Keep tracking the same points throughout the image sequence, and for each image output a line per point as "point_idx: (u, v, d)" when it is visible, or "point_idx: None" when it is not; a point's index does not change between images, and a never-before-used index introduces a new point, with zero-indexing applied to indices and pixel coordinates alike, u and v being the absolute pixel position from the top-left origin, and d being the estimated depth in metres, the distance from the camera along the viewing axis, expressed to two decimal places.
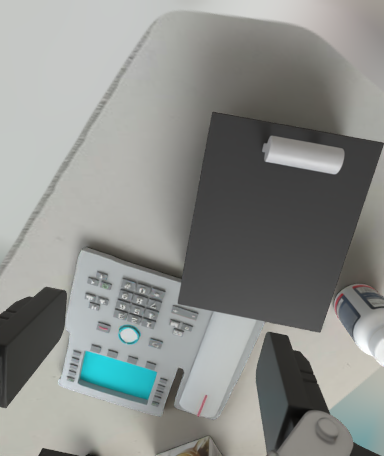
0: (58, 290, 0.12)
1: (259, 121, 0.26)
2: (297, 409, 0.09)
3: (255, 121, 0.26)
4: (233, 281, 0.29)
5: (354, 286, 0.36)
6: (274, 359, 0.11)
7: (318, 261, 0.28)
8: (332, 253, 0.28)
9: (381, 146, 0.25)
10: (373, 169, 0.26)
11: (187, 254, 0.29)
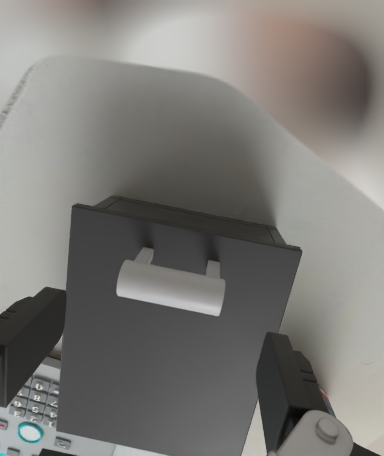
0: (58, 290, 0.12)
1: (134, 219, 0.19)
2: (297, 409, 0.09)
3: (129, 219, 0.19)
4: (121, 408, 0.23)
5: None
6: (274, 359, 0.11)
7: (227, 390, 0.22)
8: (244, 381, 0.21)
9: (299, 255, 0.19)
10: (290, 283, 0.19)
11: (60, 375, 0.22)
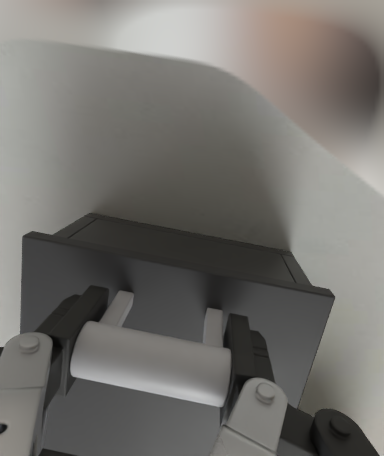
0: (102, 288, 0.13)
1: (107, 253, 0.14)
2: (243, 377, 0.09)
3: (100, 253, 0.14)
4: None
5: None
6: (231, 336, 0.11)
7: None
8: None
9: (330, 302, 0.14)
10: (317, 338, 0.14)
11: None
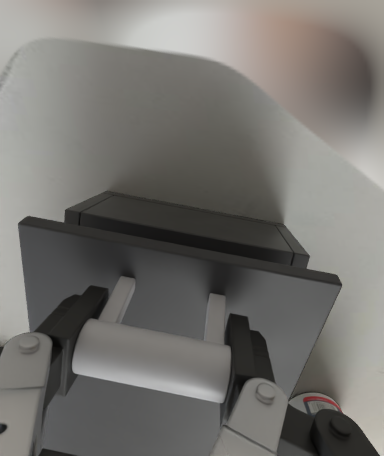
0: (102, 288, 0.13)
1: (106, 241, 0.13)
2: (243, 377, 0.09)
3: (98, 241, 0.13)
4: (112, 438, 0.20)
5: (306, 398, 0.27)
6: (231, 336, 0.11)
7: None
8: None
9: (337, 290, 0.13)
10: (321, 322, 0.14)
11: None
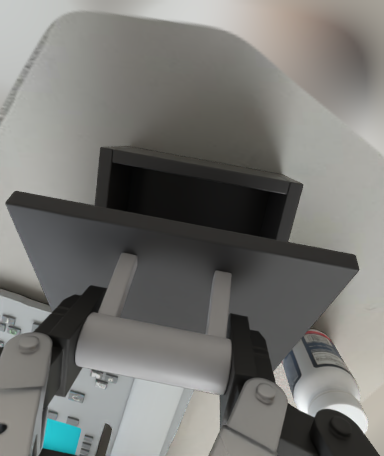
0: (102, 288, 0.13)
1: (101, 221, 0.12)
2: (243, 377, 0.09)
3: (93, 221, 0.12)
4: None
5: None
6: (231, 336, 0.11)
7: None
8: None
9: (352, 274, 0.12)
10: (331, 298, 0.14)
11: None
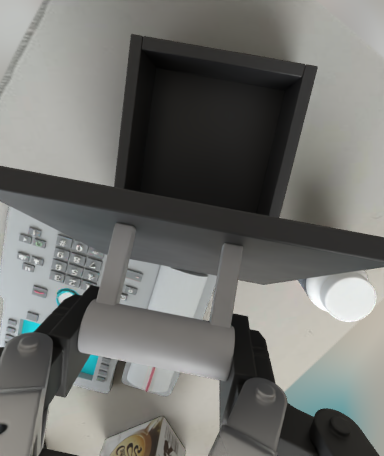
0: None
1: (82, 204, 0.10)
2: (242, 377, 0.09)
3: (73, 203, 0.10)
4: (154, 260, 0.24)
5: None
6: None
7: (255, 274, 0.20)
8: (275, 276, 0.19)
9: None
10: (358, 270, 0.12)
11: (86, 244, 0.22)
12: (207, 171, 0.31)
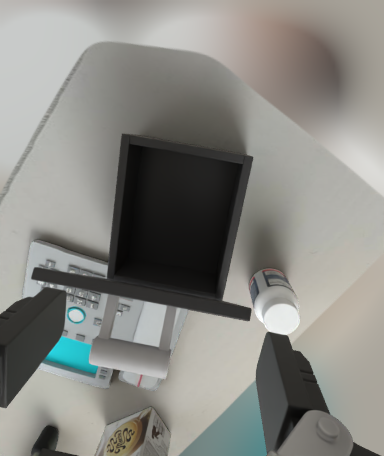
0: (58, 290, 0.12)
1: (90, 290, 0.20)
2: (297, 409, 0.09)
3: (86, 289, 0.20)
4: None
5: (264, 270, 0.42)
6: (274, 359, 0.11)
7: None
8: None
9: (246, 320, 0.20)
10: None
11: None
12: (182, 218, 0.41)
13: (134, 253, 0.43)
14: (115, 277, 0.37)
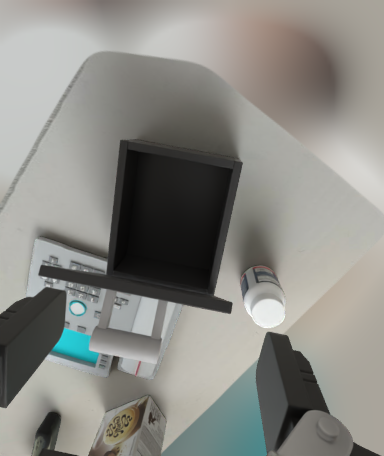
0: (58, 290, 0.12)
1: (90, 285, 0.22)
2: (297, 409, 0.09)
3: None
4: None
5: (254, 267, 0.45)
6: (274, 359, 0.11)
7: None
8: None
9: (228, 313, 0.22)
10: None
11: None
12: (177, 218, 0.44)
13: (132, 250, 0.45)
14: (114, 273, 0.40)
